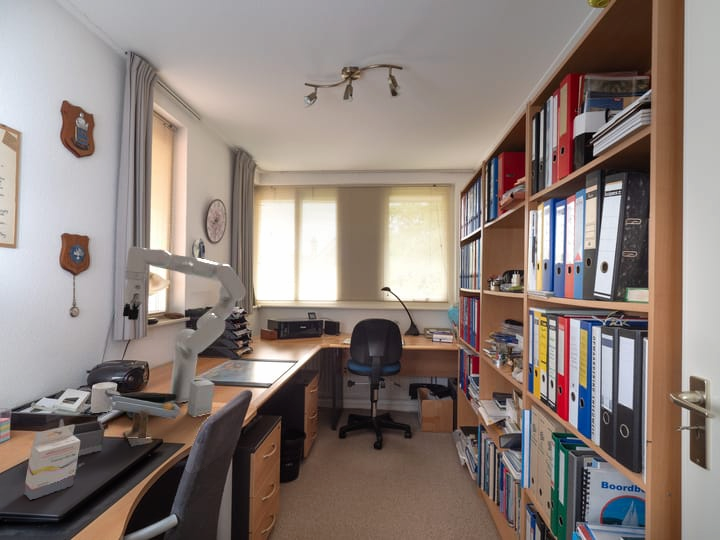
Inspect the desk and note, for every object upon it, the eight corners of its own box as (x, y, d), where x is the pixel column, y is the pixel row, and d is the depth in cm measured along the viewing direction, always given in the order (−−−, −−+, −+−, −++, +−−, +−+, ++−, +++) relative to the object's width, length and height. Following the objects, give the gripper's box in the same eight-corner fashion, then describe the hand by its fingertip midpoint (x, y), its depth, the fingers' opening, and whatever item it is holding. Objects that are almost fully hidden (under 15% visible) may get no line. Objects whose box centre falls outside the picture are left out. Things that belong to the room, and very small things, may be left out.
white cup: (99, 416, 126) (103, 389, 127) (83, 412, 128) (87, 386, 128) (118, 409, 134) (122, 384, 134) (102, 405, 136) (106, 381, 136)
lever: (163, 405, 129) (168, 396, 131) (175, 419, 119) (180, 409, 120) (103, 394, 116) (109, 384, 117) (111, 409, 105) (117, 397, 106)
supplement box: (211, 414, 138) (215, 383, 139) (193, 418, 133) (197, 386, 134) (204, 408, 143) (208, 379, 144) (186, 412, 138) (190, 381, 139)
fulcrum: (143, 429, 120) (147, 400, 120) (152, 442, 111) (156, 411, 112) (123, 433, 116) (128, 402, 116) (131, 447, 107) (136, 414, 108)
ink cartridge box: (29, 502, 79) (39, 439, 80) (22, 494, 81) (32, 433, 82) (74, 486, 86) (83, 428, 87) (66, 478, 89) (75, 422, 89)
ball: (163, 412, 120) (172, 407, 122) (166, 415, 118) (174, 410, 120) (161, 405, 119) (170, 400, 122) (163, 407, 117) (172, 403, 119)
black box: (178, 393, 146) (161, 397, 127) (173, 415, 144) (155, 422, 125) (135, 391, 144) (111, 394, 125) (130, 413, 141) (104, 420, 122)
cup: (97, 440, 109) (101, 413, 109) (101, 451, 103) (105, 421, 104) (55, 449, 102) (60, 419, 102) (57, 461, 96) (62, 429, 96)
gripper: (151, 278, 134) (145, 321, 133) (141, 276, 146) (135, 315, 145) (129, 276, 129) (123, 321, 128) (120, 274, 141) (114, 315, 140)
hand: (130, 317), depth 137 cm, fingers open, 9 cm apart
